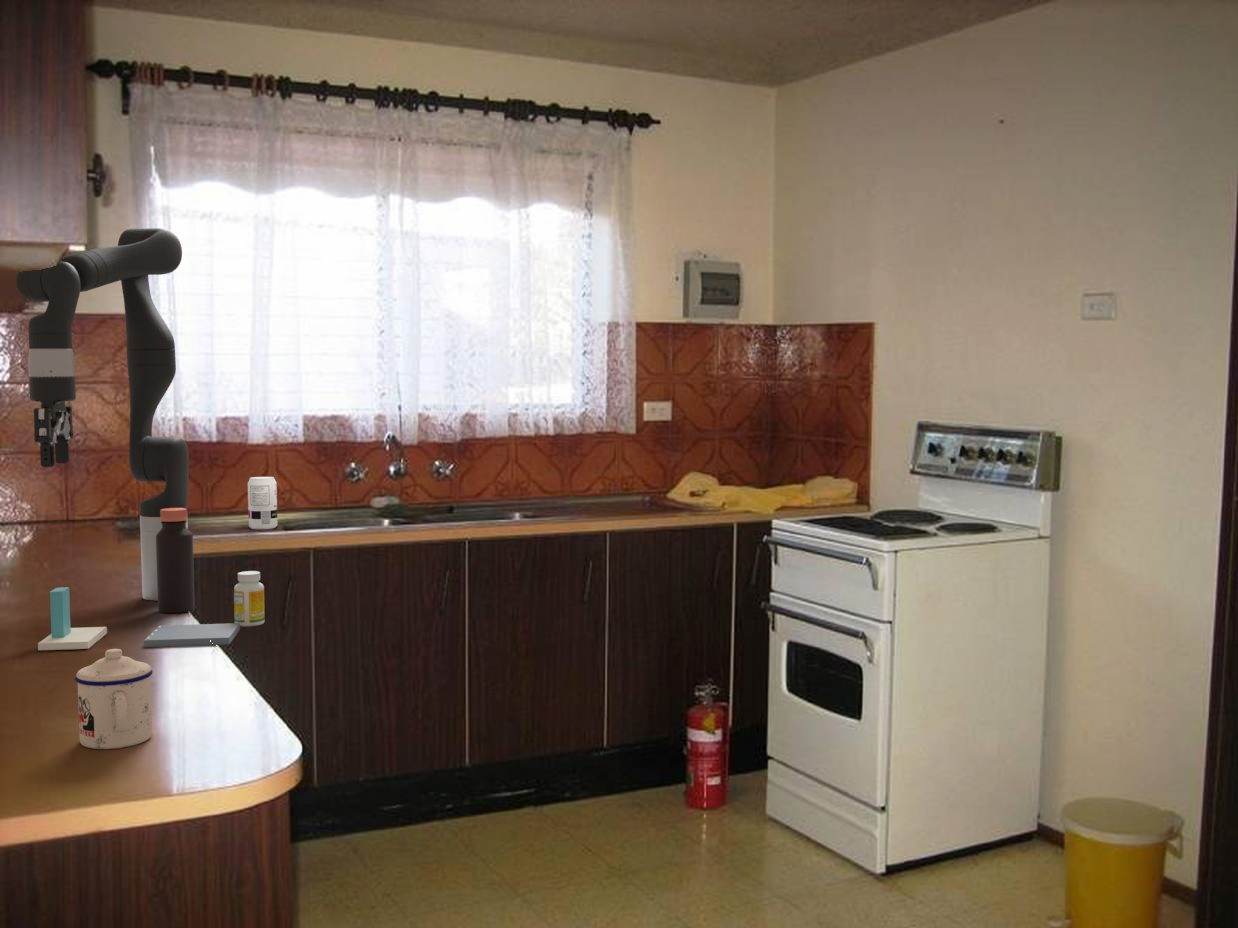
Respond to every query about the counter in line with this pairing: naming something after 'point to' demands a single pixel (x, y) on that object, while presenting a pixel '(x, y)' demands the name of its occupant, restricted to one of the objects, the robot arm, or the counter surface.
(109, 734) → the teacup with lid
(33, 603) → the counter surface
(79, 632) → the teal block on base
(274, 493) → the supplement can
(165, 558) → the vinegar
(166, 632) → the board
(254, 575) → the supplement bottle
